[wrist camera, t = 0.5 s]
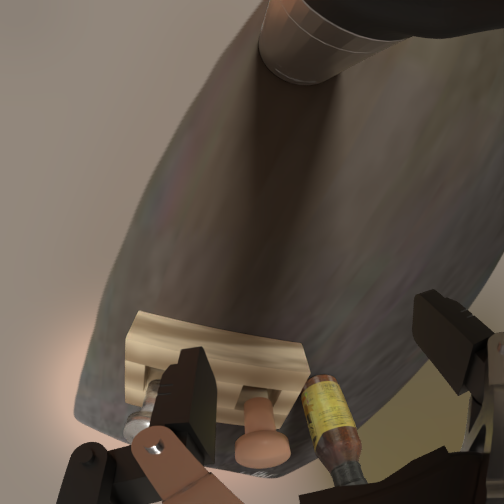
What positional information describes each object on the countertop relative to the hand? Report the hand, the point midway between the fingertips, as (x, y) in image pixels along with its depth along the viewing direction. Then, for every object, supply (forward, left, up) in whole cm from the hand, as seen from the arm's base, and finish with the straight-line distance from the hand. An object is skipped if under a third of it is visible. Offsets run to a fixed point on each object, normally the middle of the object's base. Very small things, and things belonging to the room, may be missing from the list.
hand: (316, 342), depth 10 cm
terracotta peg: (+23, +6, -17) cm, 29 cm away
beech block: (+23, 0, -24) cm, 33 cm away
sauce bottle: (+25, +17, -24) cm, 39 cm away
